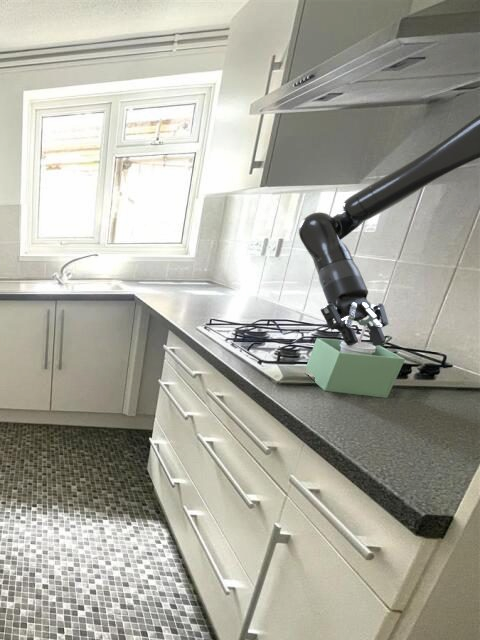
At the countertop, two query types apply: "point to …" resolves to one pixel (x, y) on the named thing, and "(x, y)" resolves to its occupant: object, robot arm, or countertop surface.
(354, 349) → the smoothie
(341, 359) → the bin
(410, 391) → the countertop surface
